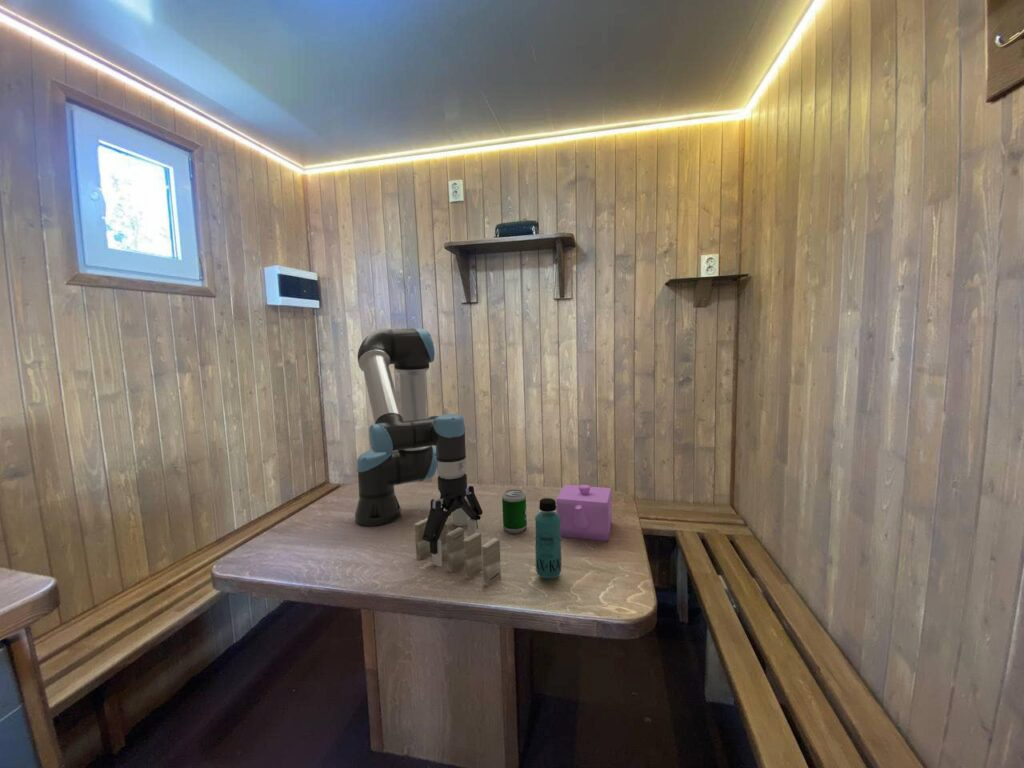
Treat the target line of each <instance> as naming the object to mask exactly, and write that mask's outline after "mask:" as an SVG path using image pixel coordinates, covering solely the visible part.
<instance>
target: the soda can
mask: <svg viewBox="0 0 1024 768" xmlns="http://www.w3.org/2000/svg"><path fill="white" fill-rule="evenodd" d="M501 497H502V498H501V503H502V526H503V527H502V528H503V529H504V530H505V531H506V532H508V533H510V534H519V533H522V532H524V531H525V529H527V527H528V523H527V522H528V521H527V495H526V493H525V492H524V491H523V490H521V489H518V488H516V489H515V488H512V489H508V490H506V491H504V493H503V494H502V496H501Z"/></svg>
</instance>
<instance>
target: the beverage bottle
mask: <svg viewBox="0 0 1024 768" xmlns="http://www.w3.org/2000/svg"><path fill="white" fill-rule="evenodd" d="M538 508H539V510H540V512H539V513H538V514H536V516H535V517H534V520H535V571H536V573H537V575H539V577H541V578H545V579H553V578H556V577H559V575H560V574H561V573H562V562H563V561H562V560H563V559H562V555H563V554H562V543H561V542H562V540H561V539H562V538H561V537H562V536H560V516H559V515H558V514H557V513H556V512H555V511H556V499H553V498H547V497H545V498H541V499H540V500H539V506H538Z"/></svg>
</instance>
